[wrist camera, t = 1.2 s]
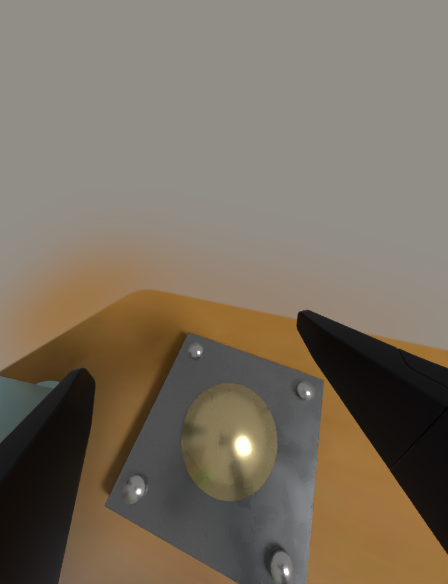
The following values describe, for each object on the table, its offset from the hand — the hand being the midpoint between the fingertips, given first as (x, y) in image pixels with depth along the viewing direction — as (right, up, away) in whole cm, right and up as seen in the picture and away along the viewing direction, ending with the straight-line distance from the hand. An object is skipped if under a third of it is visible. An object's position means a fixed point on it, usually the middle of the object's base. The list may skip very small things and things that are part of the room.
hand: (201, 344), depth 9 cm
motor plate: (+1, -11, +11) cm, 16 cm away
